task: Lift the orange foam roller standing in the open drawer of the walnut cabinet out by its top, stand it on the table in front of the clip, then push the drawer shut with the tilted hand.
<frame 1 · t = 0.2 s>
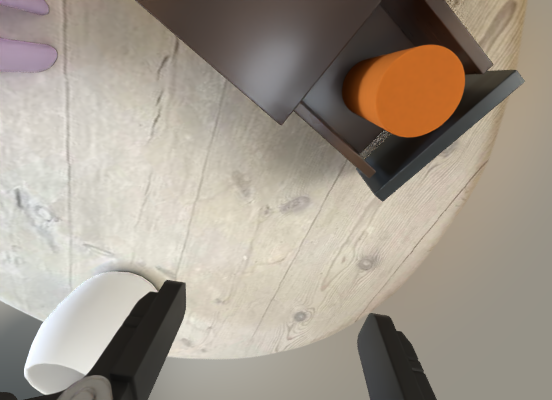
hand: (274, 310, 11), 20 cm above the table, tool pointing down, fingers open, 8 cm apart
white vase: (133, 290, 39), on the table
roller: (368, 88, 23), point 2 cm above the table, touching drawer
drawer: (375, 88, 20), point 4 cm above the table, slide at 10.0 cm, touching roller
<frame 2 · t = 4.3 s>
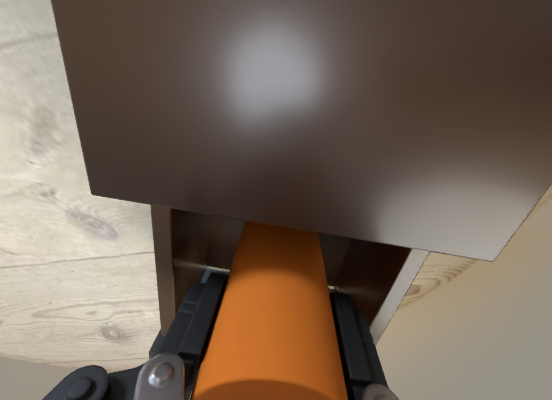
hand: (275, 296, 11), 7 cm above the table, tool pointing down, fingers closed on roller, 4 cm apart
roller: (280, 231, 16), point 2 cm above the table, touching drawer, gripper
drawer: (279, 252, 14), point 4 cm above the table, slide at 10.0 cm, touching roller
cabinet: (323, 6, 12), on the table
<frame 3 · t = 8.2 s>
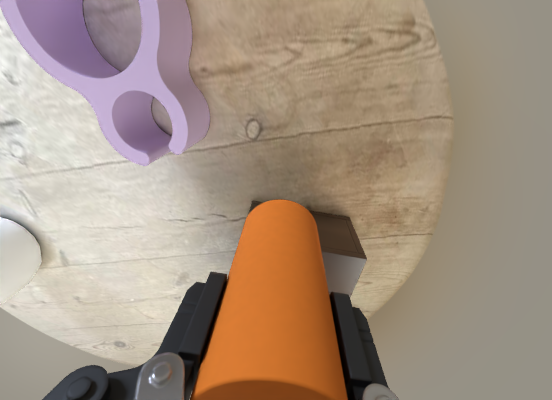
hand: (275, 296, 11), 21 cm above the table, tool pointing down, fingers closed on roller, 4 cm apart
clip: (146, 53, 26), on the table
white vase: (14, 239, 39), on the table
roller: (280, 231, 16), point 16 cm above the table, touching gripper
cabinet: (290, 253, 37), on the table
when the fingers open (5 cm above the table, at t = 12.3 s): roller stays where it is, on the table.
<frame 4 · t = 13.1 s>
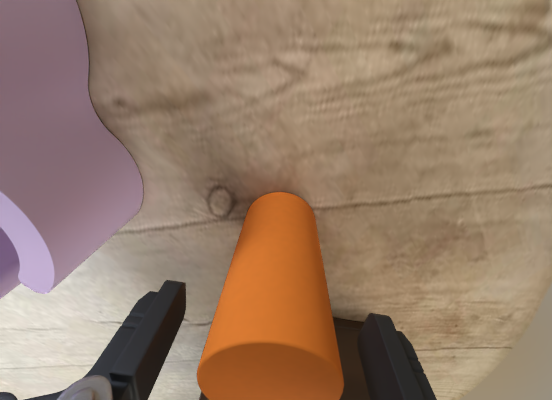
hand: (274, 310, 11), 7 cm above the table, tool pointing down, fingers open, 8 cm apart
clip: (6, 73, 13), on the table
roller: (280, 222, 17), on the table
cabinet: (288, 364, 24), on the table
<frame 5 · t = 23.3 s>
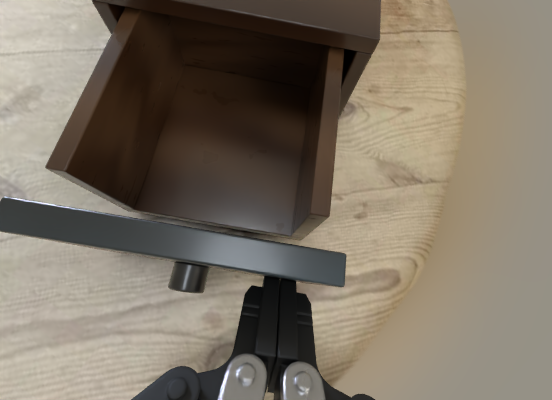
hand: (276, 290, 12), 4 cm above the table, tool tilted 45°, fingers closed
drawer: (223, 143, 14), point 4 cm above the table, slide at 9.7 cm, touching gripper
cabinet: (259, 51, 21), on the table
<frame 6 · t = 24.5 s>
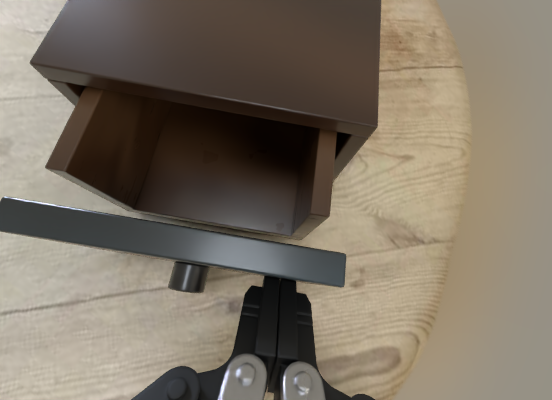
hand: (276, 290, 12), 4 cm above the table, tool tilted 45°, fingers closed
drawer: (223, 142, 14), point 4 cm above the table, slide at 4.9 cm, touching gripper
cabinet: (249, 93, 20), on the table
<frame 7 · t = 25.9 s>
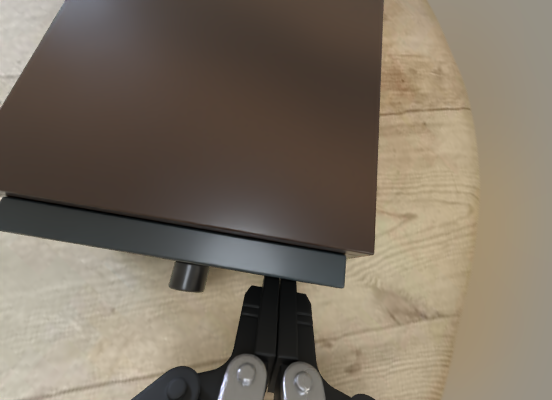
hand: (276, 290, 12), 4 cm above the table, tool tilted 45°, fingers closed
drawer: (224, 141, 14), point 4 cm above the table, slide at 0.0 cm, touching cabinet, gripper
cabinet: (238, 144, 18), on the table
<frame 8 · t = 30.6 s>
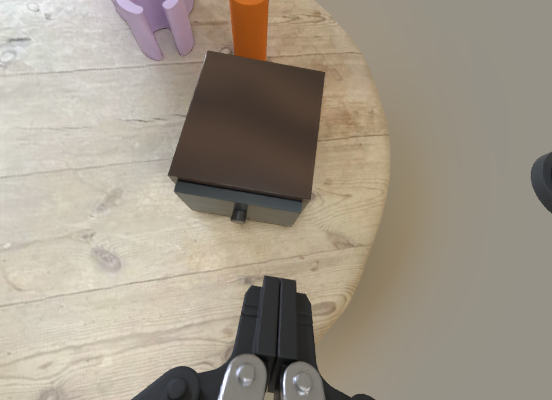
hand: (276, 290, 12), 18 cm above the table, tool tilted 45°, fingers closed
clip: (159, 13, 40), on the table
roller: (250, 61, 38), on the table
drawer: (251, 157, 29), point 4 cm above the table, slide at 0.0 cm, touching cabinet
cabinet: (254, 157, 33), on the table
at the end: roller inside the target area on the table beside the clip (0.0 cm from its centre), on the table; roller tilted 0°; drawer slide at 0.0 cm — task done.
